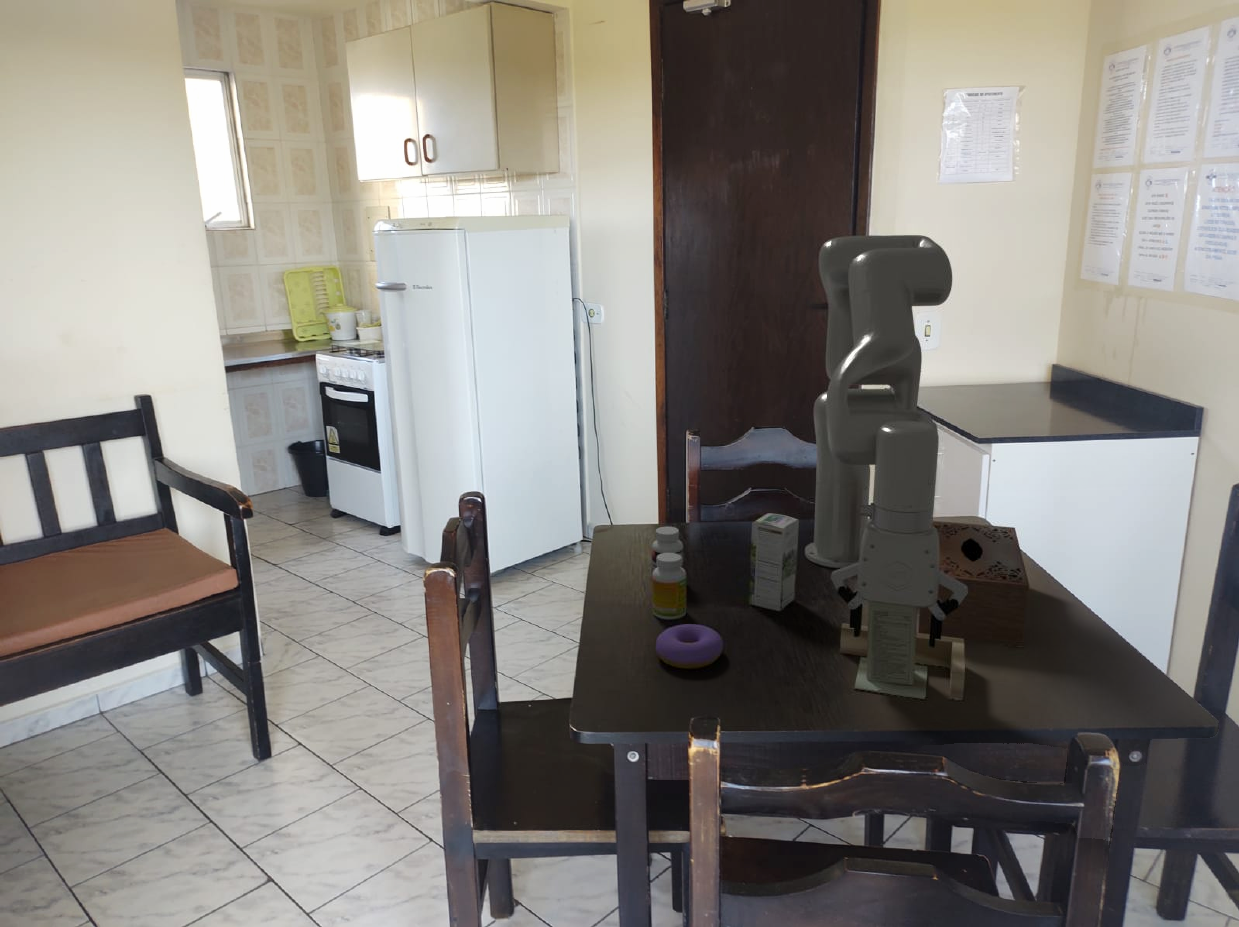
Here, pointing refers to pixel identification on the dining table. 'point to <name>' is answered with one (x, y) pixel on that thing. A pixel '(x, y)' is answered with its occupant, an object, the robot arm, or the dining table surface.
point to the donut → (689, 646)
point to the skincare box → (891, 643)
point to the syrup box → (773, 561)
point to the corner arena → (943, 654)
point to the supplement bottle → (669, 587)
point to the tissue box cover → (982, 584)
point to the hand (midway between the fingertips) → (894, 637)
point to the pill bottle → (666, 544)
